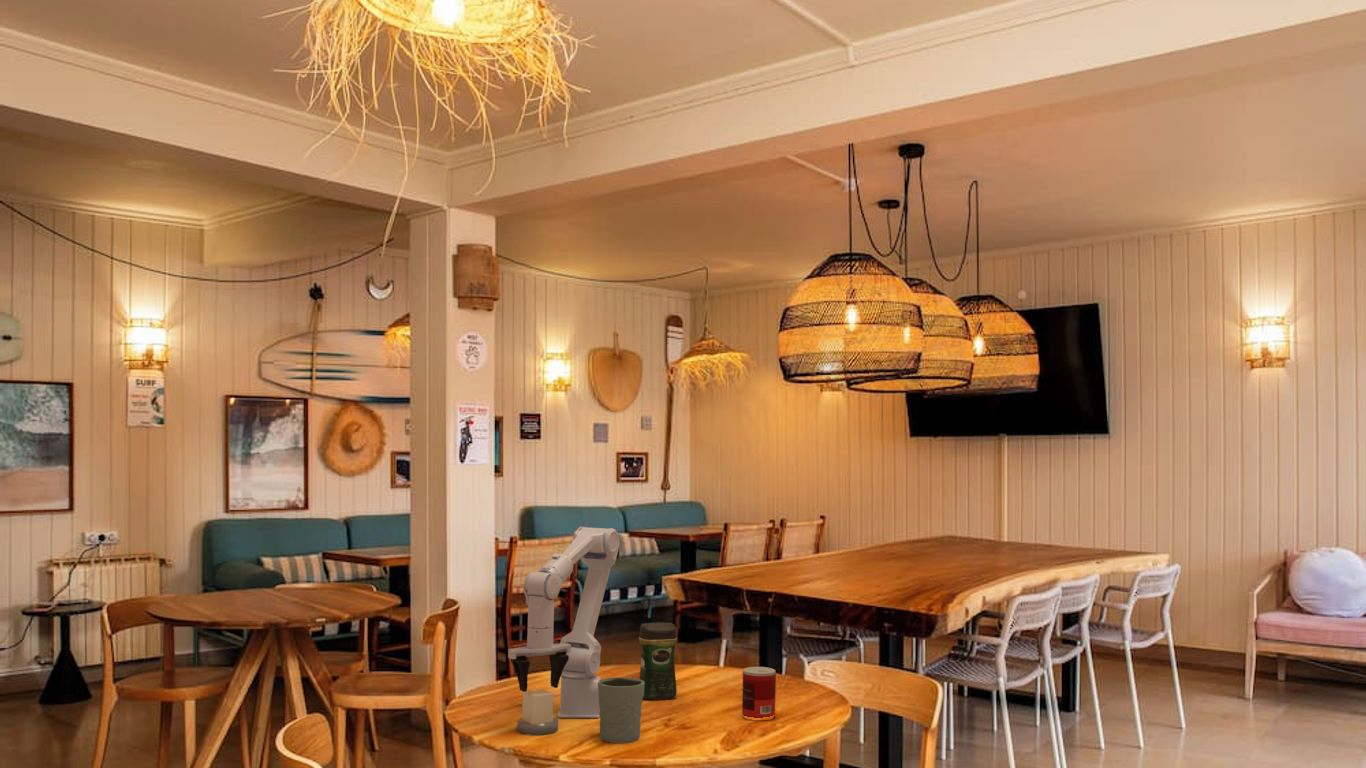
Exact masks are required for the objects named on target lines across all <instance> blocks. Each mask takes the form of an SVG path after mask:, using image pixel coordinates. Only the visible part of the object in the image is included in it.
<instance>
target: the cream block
mask: <svg viewBox="0 0 1366 768" xmlns="http://www.w3.org/2000/svg"><path fill="white" fill-rule="evenodd" d="M554 695H555V694H554V693H552V692H550V691H548V690H545V689H537V690H536V689H535V690H529V691H528V690H527V691H526V692H523V691H522V710H521V711H522V712H521V713H522V715H521V718H522V720H524V721H526V722H528V723H530V724H539V723H546V722H553V717H554V698H555V697H554Z"/></svg>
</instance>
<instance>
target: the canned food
mask: <svg viewBox="0 0 1366 768" xmlns="http://www.w3.org/2000/svg"><path fill="white" fill-rule="evenodd" d="M776 672H777V671H776V669H774V668H771V667H766V666H749V667H744V668H743V669H742V703H741V704H742V706H741V707H742V708H741V709H742V710H741V711H742V712H741V713H742V716H743V715H744V716H747V717H754V718H763V717H770V716H773V715H776V693H777V692H776V691H777V690H776V689H777V688H776V685H777V675H776Z"/></svg>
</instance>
